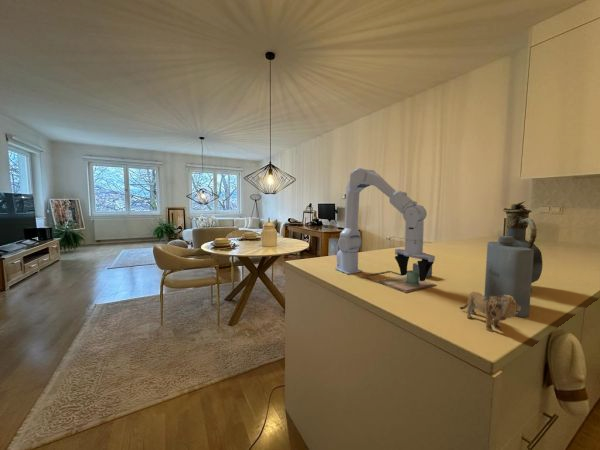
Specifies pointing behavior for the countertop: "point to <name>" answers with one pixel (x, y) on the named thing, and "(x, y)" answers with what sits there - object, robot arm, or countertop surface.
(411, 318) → the countertop surface
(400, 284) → the board
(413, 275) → the teal flanged knob
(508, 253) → the flask
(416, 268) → the die
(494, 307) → the lion figurine
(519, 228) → the pitcher
